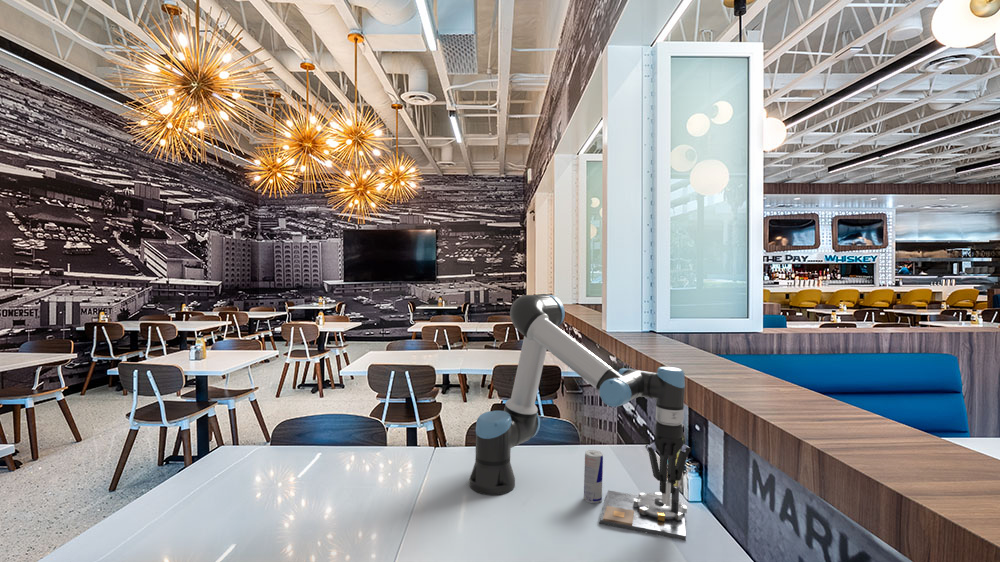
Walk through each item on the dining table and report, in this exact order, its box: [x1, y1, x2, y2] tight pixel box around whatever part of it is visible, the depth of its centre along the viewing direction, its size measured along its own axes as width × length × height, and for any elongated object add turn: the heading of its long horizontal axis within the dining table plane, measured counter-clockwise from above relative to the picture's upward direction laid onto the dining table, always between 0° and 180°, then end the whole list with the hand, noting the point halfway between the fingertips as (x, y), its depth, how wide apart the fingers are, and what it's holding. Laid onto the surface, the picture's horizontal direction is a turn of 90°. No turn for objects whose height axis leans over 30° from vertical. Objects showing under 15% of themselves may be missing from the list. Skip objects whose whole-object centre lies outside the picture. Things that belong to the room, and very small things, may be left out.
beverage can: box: [583, 449, 604, 504], centre depth 153 cm, size 6×6×15 cm
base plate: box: [599, 489, 687, 541], centre depth 144 cm, size 23×20×1 cm
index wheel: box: [634, 485, 688, 521], centre depth 146 cm, size 15×15×8 cm
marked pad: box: [603, 506, 634, 526], centre depth 141 cm, size 8×8×1 cm
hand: (666, 504), depth 140 cm, fingers closed
